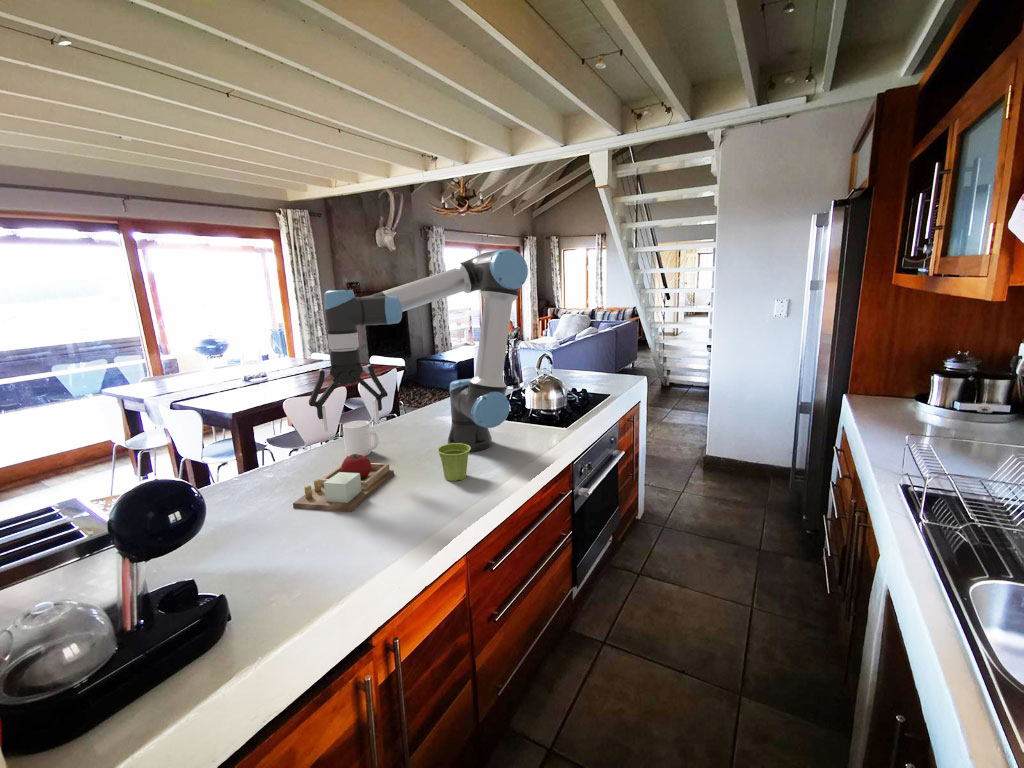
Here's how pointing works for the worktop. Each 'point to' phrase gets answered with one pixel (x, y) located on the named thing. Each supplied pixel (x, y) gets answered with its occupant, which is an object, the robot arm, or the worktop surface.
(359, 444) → the mug
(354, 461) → the tomato
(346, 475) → the block
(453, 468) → the plant pot
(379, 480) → the housing base
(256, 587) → the worktop surface
